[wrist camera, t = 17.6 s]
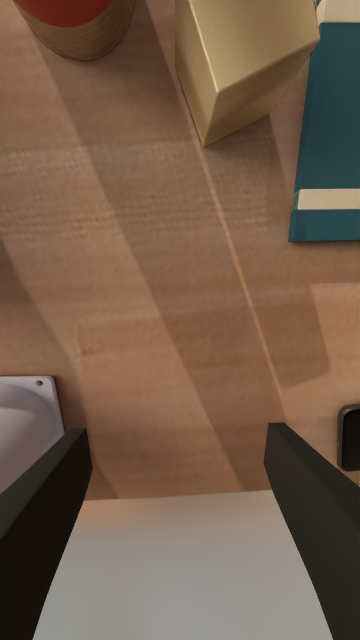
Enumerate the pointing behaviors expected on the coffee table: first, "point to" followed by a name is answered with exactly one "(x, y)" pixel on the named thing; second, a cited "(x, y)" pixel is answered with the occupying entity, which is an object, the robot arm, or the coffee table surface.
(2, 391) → the robot arm
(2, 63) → the coffee table surface
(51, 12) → the can
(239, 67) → the block
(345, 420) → the smartphone
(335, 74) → the towel
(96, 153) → the coffee table surface
